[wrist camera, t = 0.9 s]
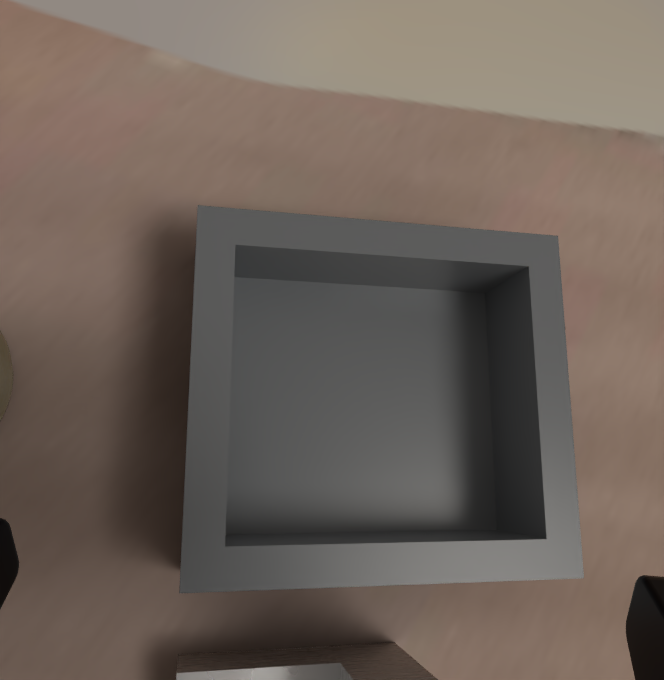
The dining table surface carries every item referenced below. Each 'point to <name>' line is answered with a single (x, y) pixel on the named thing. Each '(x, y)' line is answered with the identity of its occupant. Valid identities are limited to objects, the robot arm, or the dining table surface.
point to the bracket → (305, 664)
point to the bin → (375, 406)
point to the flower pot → (5, 375)
